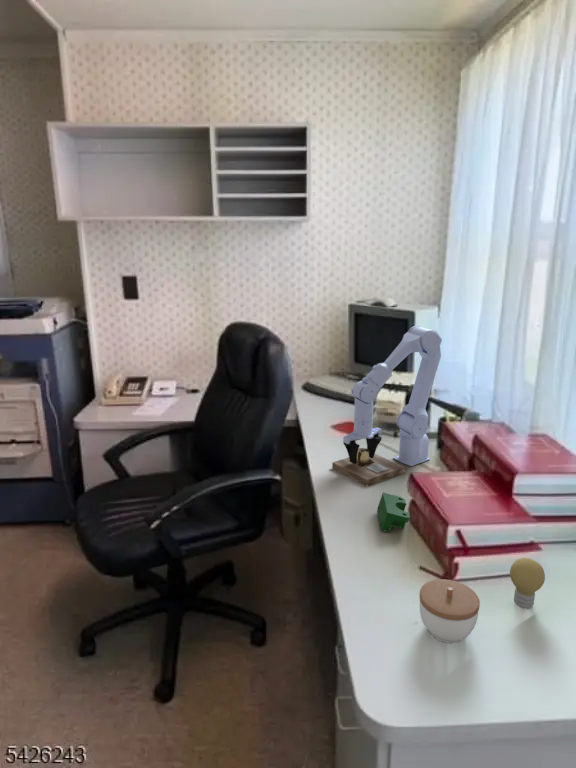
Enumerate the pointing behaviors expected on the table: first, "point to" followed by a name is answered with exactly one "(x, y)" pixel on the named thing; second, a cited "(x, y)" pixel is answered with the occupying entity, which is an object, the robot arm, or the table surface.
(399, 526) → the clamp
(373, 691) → the table surface
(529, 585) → the light bulb
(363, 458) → the brass bushing
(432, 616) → the lidded jar
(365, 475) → the jig plate
